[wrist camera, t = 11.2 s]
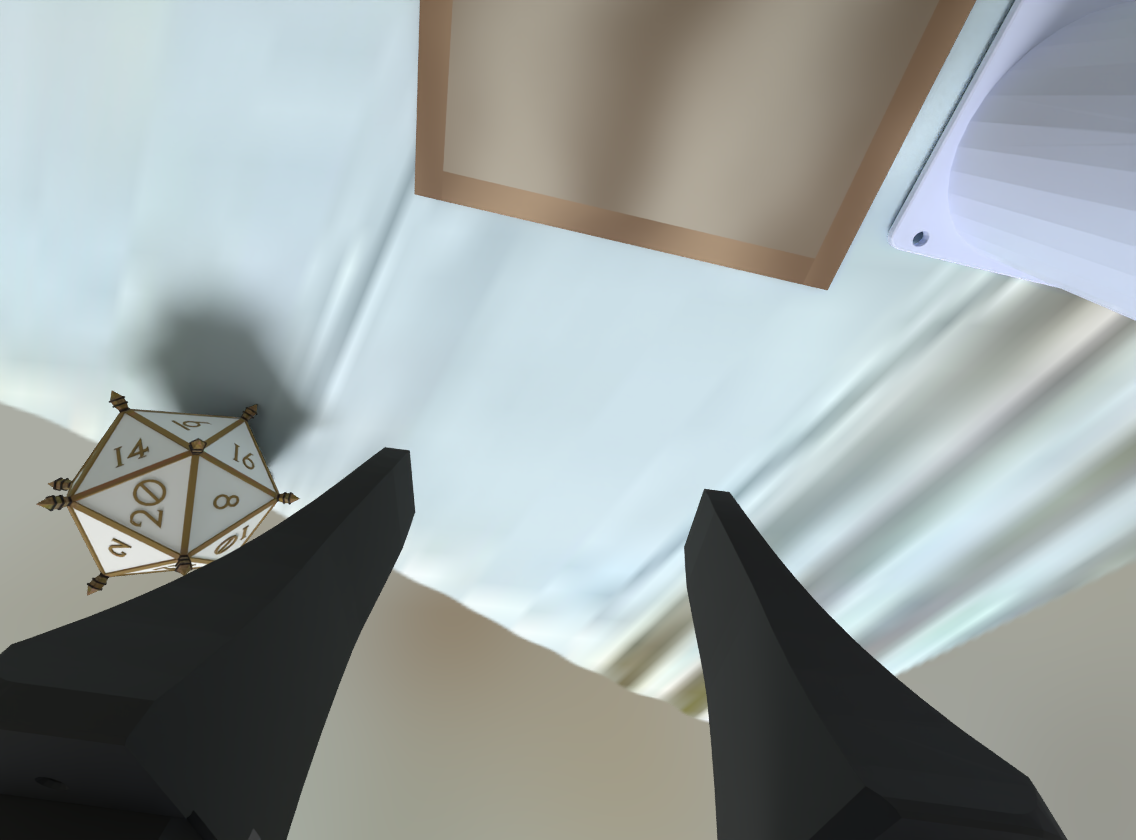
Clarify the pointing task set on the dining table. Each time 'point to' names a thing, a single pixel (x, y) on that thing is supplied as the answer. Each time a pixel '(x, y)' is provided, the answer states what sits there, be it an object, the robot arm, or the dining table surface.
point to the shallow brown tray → (678, 118)
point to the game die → (168, 491)
